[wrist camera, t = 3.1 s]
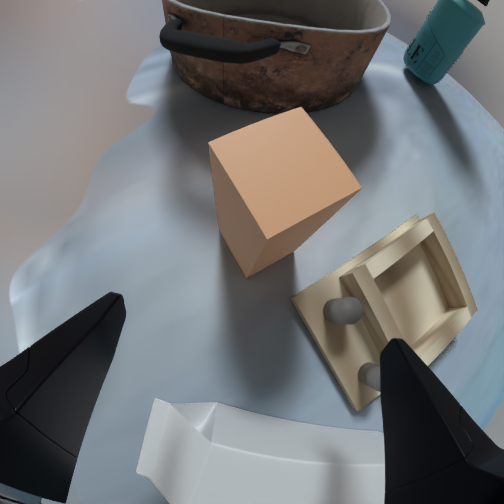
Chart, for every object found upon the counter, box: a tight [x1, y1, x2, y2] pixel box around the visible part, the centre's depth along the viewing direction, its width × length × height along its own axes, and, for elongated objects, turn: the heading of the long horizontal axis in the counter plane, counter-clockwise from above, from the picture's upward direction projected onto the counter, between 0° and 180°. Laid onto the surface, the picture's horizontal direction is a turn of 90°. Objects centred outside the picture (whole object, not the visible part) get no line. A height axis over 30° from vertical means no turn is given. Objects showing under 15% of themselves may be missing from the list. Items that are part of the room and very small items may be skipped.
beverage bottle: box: [404, 0, 489, 84], centre depth 18 cm, size 6×7×20 cm
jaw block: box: [208, 107, 362, 278], centre depth 15 cm, size 4×4×12 cm
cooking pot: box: [159, 0, 391, 113], centre depth 21 cm, size 30×22×11 cm
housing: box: [290, 213, 477, 411], centre depth 19 cm, size 14×11×4 cm
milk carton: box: [136, 398, 385, 504], centre depth 14 cm, size 7×7×19 cm
